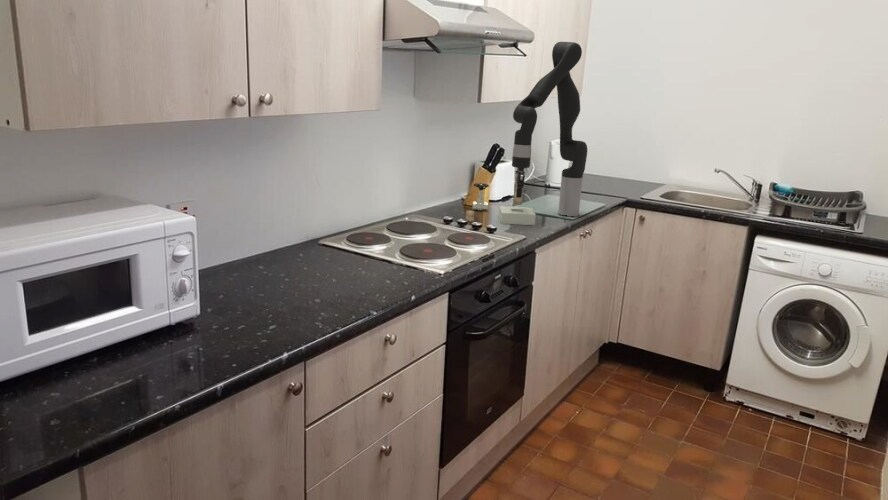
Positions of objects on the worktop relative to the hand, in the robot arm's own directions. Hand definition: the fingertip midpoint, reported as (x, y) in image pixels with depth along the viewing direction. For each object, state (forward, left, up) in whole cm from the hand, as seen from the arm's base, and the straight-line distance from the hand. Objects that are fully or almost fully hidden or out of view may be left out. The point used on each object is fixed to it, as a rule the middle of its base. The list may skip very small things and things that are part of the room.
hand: (518, 196), depth 273 cm
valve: (-18, -15, -11) cm, 26 cm away
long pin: (0, 0, -3) cm, 3 cm away
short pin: (+4, -20, -11) cm, 23 cm away
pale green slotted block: (0, 0, -10) cm, 10 cm away
